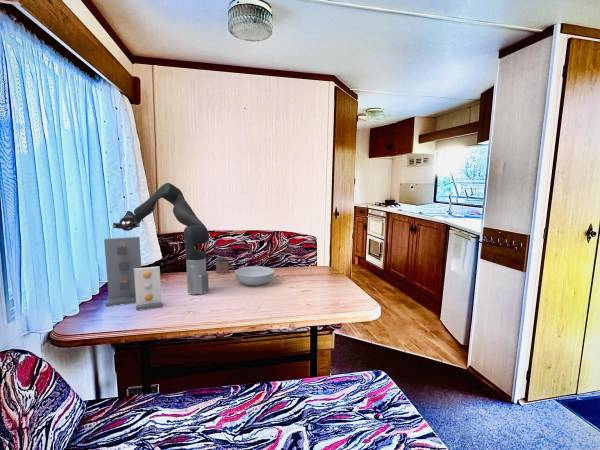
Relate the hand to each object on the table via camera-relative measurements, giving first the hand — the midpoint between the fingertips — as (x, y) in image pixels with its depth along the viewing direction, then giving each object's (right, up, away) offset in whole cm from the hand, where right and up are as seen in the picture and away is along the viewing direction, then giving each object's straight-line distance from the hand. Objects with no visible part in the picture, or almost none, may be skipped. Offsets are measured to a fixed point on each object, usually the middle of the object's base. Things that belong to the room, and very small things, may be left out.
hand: (124, 227), depth 161 cm
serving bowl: (+62, -31, +15) cm, 71 cm away
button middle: (+5, -19, -9) cm, 22 cm away
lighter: (+41, -28, +33) cm, 59 cm away
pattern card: (+21, -35, -18) cm, 44 cm away
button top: (+6, -12, -13) cm, 19 cm away
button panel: (+6, -34, -9) cm, 35 cm away
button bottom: (+6, -28, -11) cm, 30 cm away
